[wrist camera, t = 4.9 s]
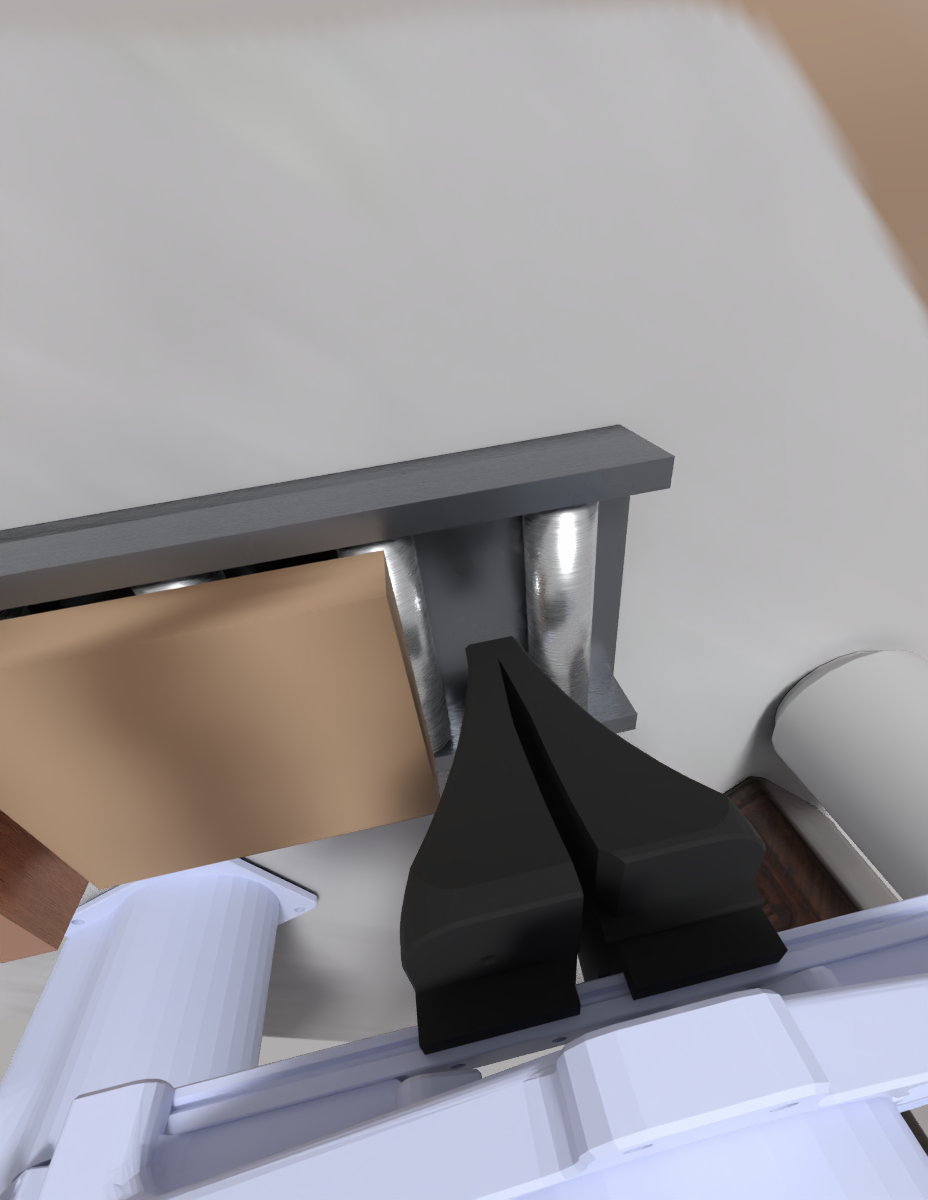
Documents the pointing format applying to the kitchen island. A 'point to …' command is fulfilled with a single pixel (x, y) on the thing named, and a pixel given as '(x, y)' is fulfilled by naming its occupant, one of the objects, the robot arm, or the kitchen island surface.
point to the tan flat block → (213, 720)
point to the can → (866, 755)
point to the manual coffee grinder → (808, 868)
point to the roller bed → (370, 513)
